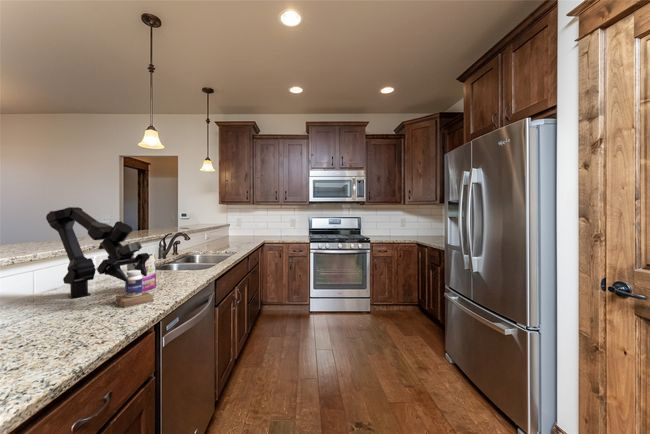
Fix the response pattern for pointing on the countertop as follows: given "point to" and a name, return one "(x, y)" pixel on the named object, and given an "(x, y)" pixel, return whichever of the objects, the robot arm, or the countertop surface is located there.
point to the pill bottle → (133, 284)
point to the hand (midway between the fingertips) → (136, 278)
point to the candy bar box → (150, 279)
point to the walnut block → (134, 299)
